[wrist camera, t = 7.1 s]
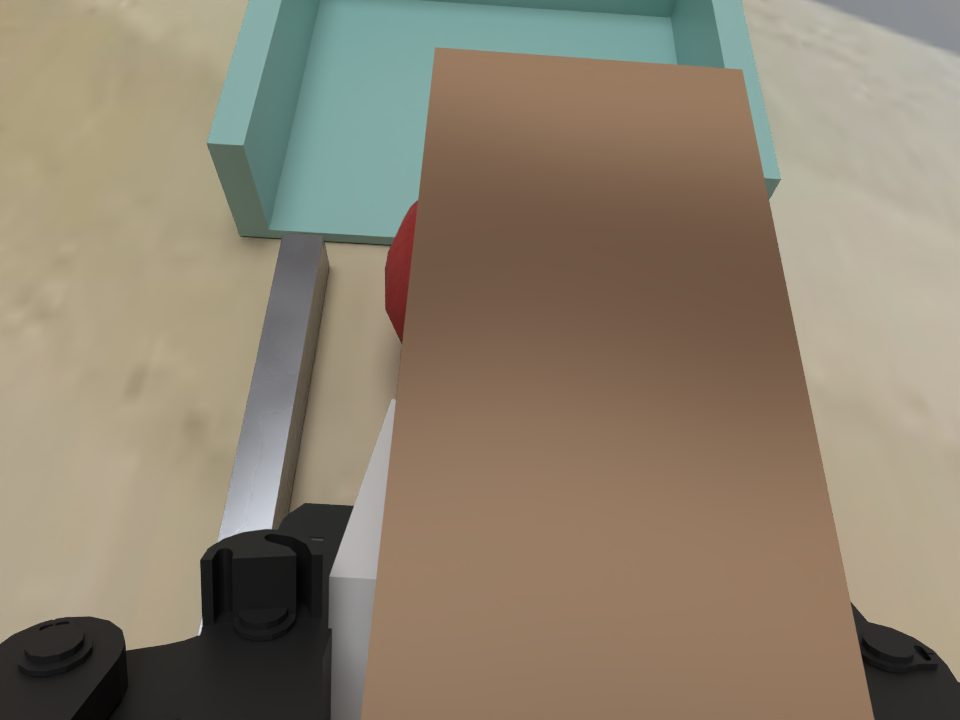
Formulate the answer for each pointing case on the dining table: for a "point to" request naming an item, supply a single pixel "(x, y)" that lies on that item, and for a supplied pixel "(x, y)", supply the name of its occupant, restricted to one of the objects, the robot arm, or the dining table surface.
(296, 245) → the slot rails
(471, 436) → the pusher block
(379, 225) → the tray
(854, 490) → the dining table surface
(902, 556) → the dining table surface
